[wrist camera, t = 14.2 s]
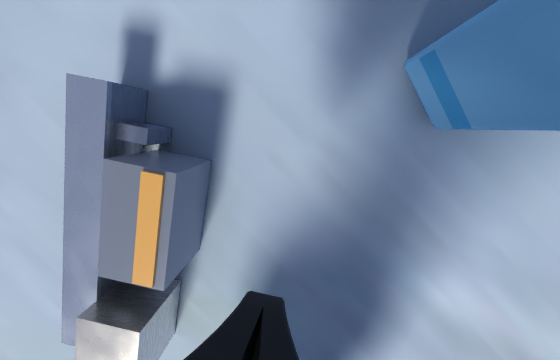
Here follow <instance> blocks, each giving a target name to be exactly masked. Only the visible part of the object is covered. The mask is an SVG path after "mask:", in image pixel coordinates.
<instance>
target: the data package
mask: <svg viewBox="0 0 560 360" xmlns="http://www.w3.org/2000/svg"><path fill="white" fill-rule="evenodd" d="M404 67H405V69H406V71H407V73H408V75H409V77H410V79H411V81H412V83H413V85H414V87H415V90H416V92H417V94H418V96H419V98H420V100H421V102H422V104H423V106H424V108H425V110H426V112H427V114H428V116H429V118H430V120H431V122H432V124H433V126H434V127H435V128H438V129H491V130H558V131H560V0H498V1H497V2H495V3H493V4H492V5H490V6H489V7H487V8H486V9H484V10H483V11H481V12H480V13H478V14H477V15H475V16H474V17H472V18H470V19H469V20H467V21H466V22H464V23H463V24H461V25H460V26H458V27H457V28H455V29H454V30H452V31H450V32H449V33H447V34H446V35H444V36H443V37H441V38H440V39H438V40H437V41H435V42H434V43H432V44H431V45H429V46H427V47H426V48H424V49H423V50H421V51H420V52H418V53H417V54H415V55H414V56H412V57H411V58H409V59H407V60H406V61H405V63H404Z"/></svg>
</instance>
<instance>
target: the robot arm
mask: <svg viewBox="0 0 560 360" xmlns="http://www.w3.org/2000/svg"><path fill="white" fill-rule="evenodd" d="M184 360H299V358H298V355H297V352H296V349H295V346H294V343H293V339H292V336H291V333H290V329H289V325H288V321H287V317H286V312H285V304H284V300H283V299H282V298H280V297H275V296H271V295H267V294H262V293H258V292H253V291H249V292H247V293H246V295H245V297H244V298H243V300H242V301H241V302H240V304H239V305H238V306H237V307H236V309H235V310H234V311H233V312H232V313H231V314H230V316H229V317H228V318H227V319H226V320H225V321H224V322H223V323H222V324H221V326H220V327H219V328H218V329H217V330H216V331H215V332H214V333H213V334H211V335H210V336H209V337H208V338H207V339H206V340H205V341H204V342H203V343H202V344H201V345H200V346H199V347H198V348H197V349H195V350H194V351H193V352H192V353H191V354H190V355H188V356H187V357H186V358H185V359H184Z"/></svg>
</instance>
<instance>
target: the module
mask: <svg viewBox="0 0 560 360" xmlns="http://www.w3.org/2000/svg"><path fill="white" fill-rule="evenodd" d="M210 168H211V160H206V159H201V158H196V157H191V156H186V155H181V154H176V153H171V152H166V151H161V150H155V151H148V152H142V153H136V154H130V155H123V156H117V157H111V158H104V160H103V180H102V201H101V222H100V242H99V263H98V276H99V277H103V278H108V279H112V280H116V281H121V282H125V283H130V284H134V285H138V286H143V287H147V288H152V289H156V290H160V291H164V290H165V289H166V288H167V287H168V286H169V285H170V283H171V282H172V281H173V280H174V279H175V277H176V276H177V275H178V274H179V273H180V272H181V270H182V269H183V268H184V267H185V266H186V265H187V263H188V262H189V261H190V260H191V259H192V258H193V256H194V255H195V254H196V253H197V252H198V250H199V249H200V243H201V235H202V228H203V220H204V213H205V206H206V198H207V191H208V183H209V176H210Z"/></svg>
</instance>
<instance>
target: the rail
mask: <svg viewBox="0 0 560 360" xmlns="http://www.w3.org/2000/svg"><path fill="white" fill-rule="evenodd" d="M147 94H148V90H144V89H139V88H135V87H131V86H126V85H122V84H118V83H113V82H109V81H104V80H99V79H94V78H89V77H83V76H78V75H73V74H68V73H67V75H66V128H65V181H64V235H63V288H62V341H61V343H64V344H68V345H72V346H75V360H158V359H159V358H160V356H161V355H162V353H163V351H164V350H165V348H166V347H167V345H168V343H169V342H170V340H171V339H172V337H173V335H174V334H175V327H176V319H177V310H178V302H179V294H180V286H181V281H180V280H175V279H174V280H173V281H172V282H171V283H170V285H169V286H168V287H167V288H166V289H165V290H164V291H160V290H156V289H152V288H147V287H143V286H138V285H134V284H130V283H125V282H121V281H116V280H112V279H108V278H103V277H99V276H98V263H99V242H100V222H101V201H102V180H103V160H104V158H111V157H117V156H123V155H130V154H136V153H142V152H143V145H152V144H161V143H169V142H171V134H172V128H168V127H163V126H158V125H153V124H148V123H145V118H146V106H147Z"/></svg>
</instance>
